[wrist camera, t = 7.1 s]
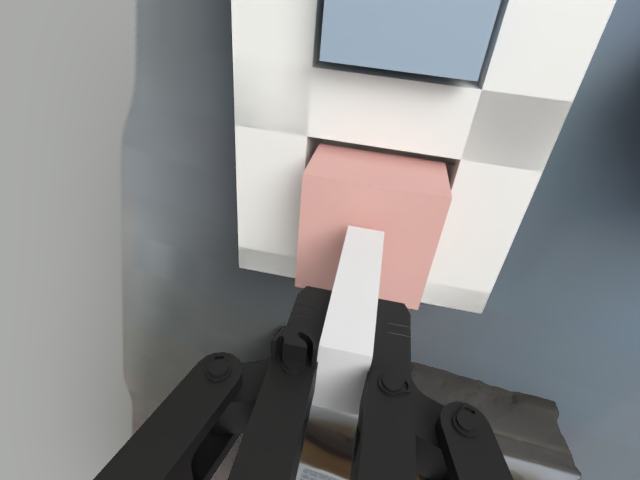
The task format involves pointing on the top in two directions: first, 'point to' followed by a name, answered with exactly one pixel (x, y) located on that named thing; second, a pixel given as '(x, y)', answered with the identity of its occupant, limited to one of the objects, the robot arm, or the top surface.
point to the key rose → (372, 216)
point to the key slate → (409, 35)
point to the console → (406, 128)
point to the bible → (444, 387)
